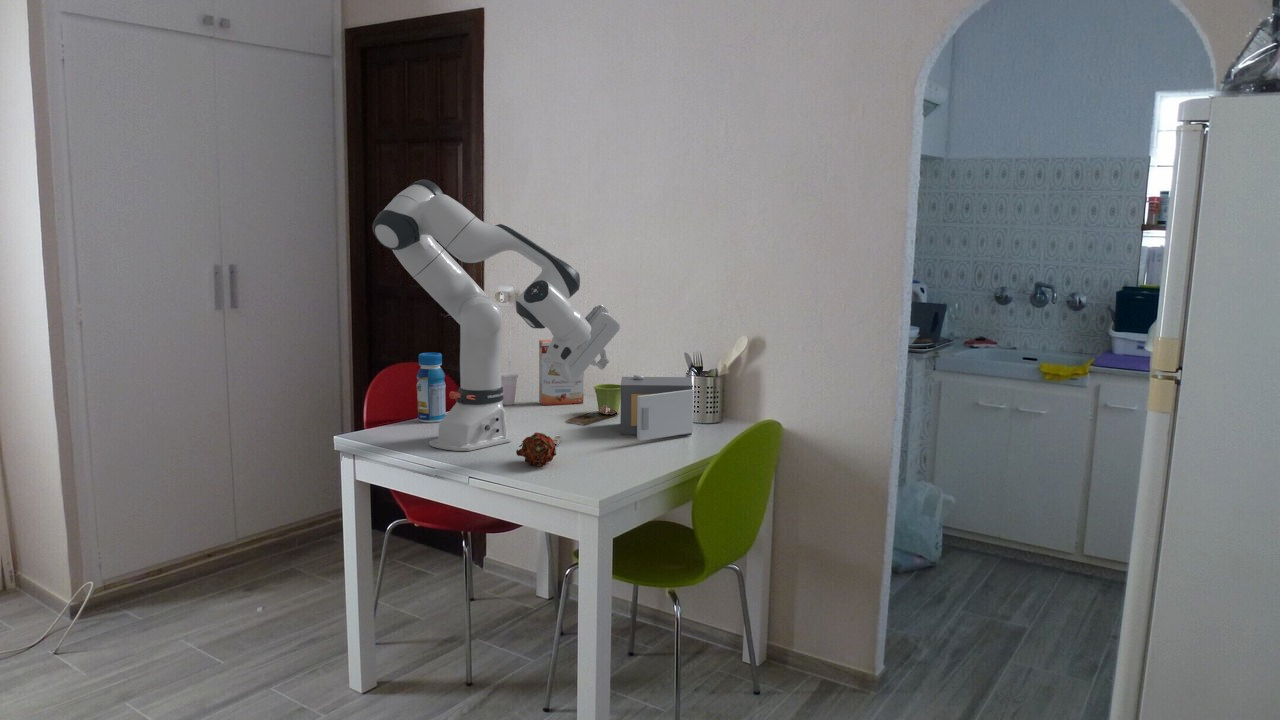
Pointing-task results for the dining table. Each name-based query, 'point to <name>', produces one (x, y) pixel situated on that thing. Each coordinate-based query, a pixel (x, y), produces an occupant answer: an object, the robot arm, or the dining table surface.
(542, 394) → the cracker box
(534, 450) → the dragon fruit
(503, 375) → the smoothie
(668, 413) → the side door
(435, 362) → the beverage bottle
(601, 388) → the plant pot
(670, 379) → the gray cabinet
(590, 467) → the dining table surface
